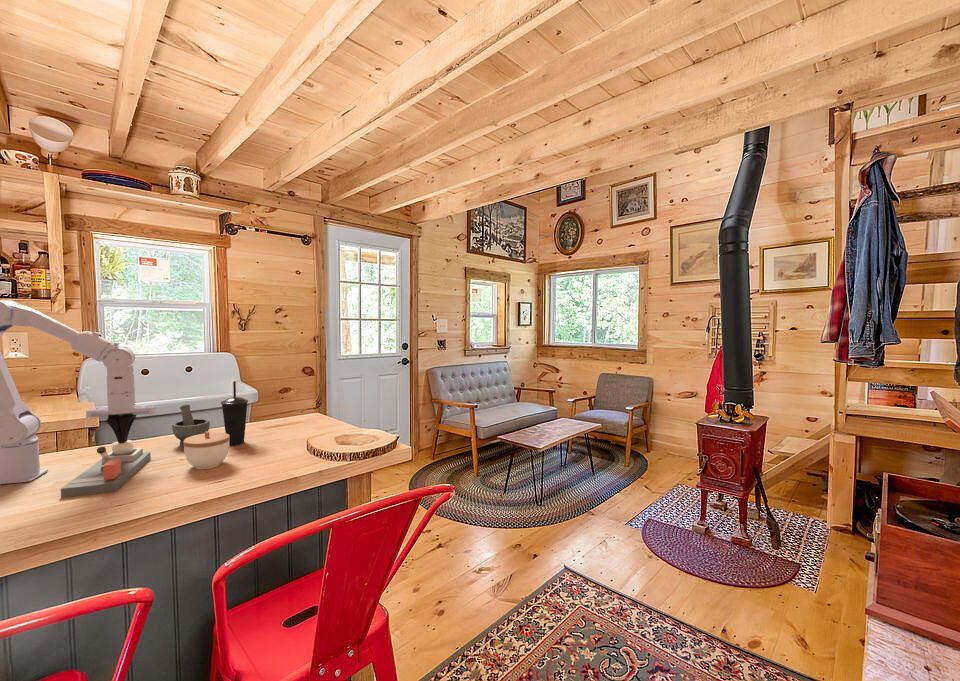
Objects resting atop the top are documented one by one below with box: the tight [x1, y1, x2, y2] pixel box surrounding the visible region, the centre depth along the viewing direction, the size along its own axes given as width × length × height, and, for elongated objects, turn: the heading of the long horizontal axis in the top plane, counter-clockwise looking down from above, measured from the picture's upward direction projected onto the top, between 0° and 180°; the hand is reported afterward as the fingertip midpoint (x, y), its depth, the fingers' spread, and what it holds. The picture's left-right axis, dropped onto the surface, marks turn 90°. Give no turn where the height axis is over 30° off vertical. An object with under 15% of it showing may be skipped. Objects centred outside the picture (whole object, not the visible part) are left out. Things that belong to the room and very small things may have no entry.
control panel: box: [60, 447, 152, 498], centre depth 111 cm, size 10×24×4 cm, turn 22°
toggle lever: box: [96, 446, 111, 461], centre depth 110 cm, size 2×2×4 cm
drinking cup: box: [220, 380, 249, 446], centre depth 139 cm, size 8×8×20 cm
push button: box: [111, 439, 134, 454], centre depth 118 cm, size 4×4×2 cm
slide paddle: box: [103, 459, 121, 480], centre depth 104 cm, size 2×4×3 cm, turn 22°
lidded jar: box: [183, 430, 230, 470], centre depth 119 cm, size 11×11×9 cm
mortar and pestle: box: [171, 404, 211, 448], centre depth 138 cm, size 11×9×12 cm
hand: (122, 442), depth 118 cm, fingers closed
